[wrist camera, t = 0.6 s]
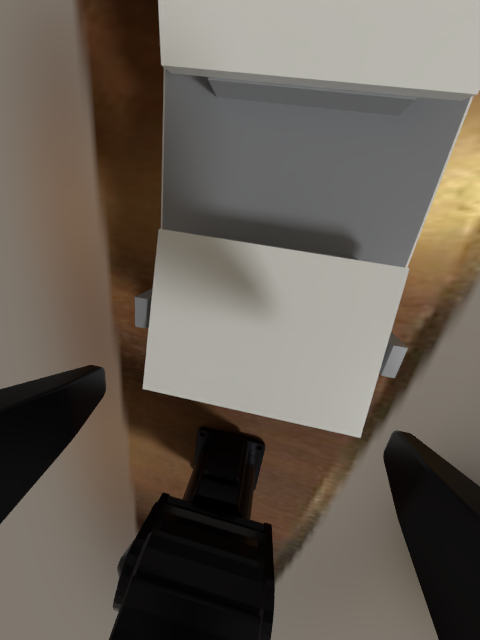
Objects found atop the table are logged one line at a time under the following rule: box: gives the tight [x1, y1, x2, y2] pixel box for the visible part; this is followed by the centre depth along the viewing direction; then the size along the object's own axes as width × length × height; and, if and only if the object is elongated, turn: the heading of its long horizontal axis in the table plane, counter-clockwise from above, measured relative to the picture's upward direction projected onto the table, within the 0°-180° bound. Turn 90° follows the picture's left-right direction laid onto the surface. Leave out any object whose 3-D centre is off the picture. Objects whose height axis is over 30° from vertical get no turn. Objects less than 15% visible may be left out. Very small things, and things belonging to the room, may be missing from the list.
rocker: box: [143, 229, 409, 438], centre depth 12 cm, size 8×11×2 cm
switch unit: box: [135, 68, 473, 378], centre depth 13 cm, size 26×16×7 cm, turn 172°
